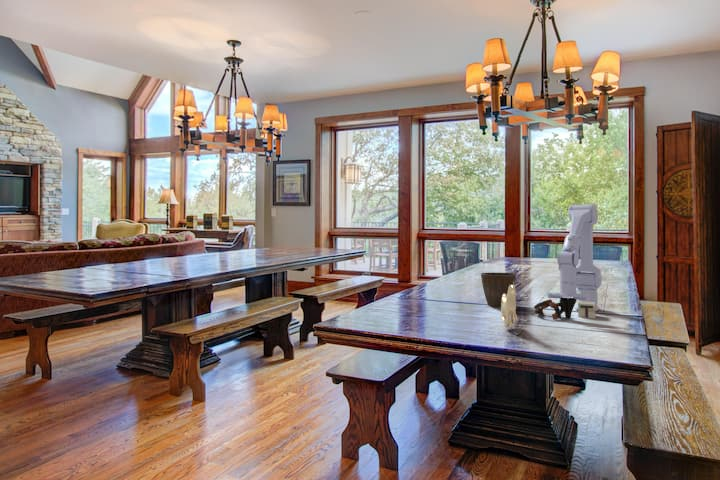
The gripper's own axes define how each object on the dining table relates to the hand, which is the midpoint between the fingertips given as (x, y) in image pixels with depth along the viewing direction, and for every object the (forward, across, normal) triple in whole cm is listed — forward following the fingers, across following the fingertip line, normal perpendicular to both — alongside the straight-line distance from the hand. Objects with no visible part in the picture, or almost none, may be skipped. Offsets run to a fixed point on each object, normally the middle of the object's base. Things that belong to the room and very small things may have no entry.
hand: (568, 318), depth 186 cm
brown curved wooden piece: (+2, -5, +1) cm, 5 cm away
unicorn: (+1, -14, -27) cm, 30 cm away
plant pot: (+1, -31, +12) cm, 33 cm away
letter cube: (+1, +4, +11) cm, 12 cm away
